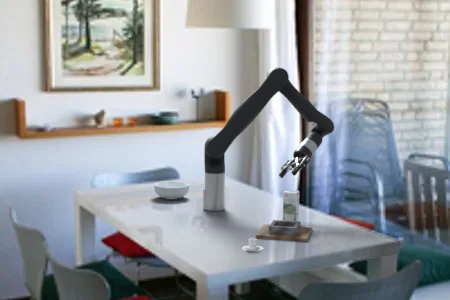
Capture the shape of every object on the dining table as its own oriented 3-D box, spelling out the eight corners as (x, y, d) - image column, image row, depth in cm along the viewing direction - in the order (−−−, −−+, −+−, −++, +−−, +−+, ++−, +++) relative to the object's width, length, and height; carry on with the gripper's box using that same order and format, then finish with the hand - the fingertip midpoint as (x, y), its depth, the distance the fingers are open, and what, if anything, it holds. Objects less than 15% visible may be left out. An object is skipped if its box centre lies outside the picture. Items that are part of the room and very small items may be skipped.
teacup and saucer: (252, 254, 263) (252, 243, 263) (236, 250, 269) (236, 239, 268) (267, 249, 270) (267, 238, 269) (251, 245, 275) (251, 234, 274)
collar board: (255, 238, 284) (256, 227, 283) (264, 227, 301) (264, 217, 301) (306, 241, 279) (307, 231, 279) (312, 230, 297) (312, 220, 296)
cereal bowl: (150, 201, 348) (150, 186, 347) (159, 194, 364) (159, 180, 363) (184, 202, 345) (184, 188, 344) (192, 195, 362) (192, 181, 361)
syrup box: (298, 223, 307) (299, 190, 305) (295, 227, 302) (296, 192, 300) (285, 222, 309) (286, 189, 307) (282, 225, 304) (283, 191, 302)
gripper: (290, 147, 327) (271, 171, 319) (311, 142, 316) (292, 166, 307) (299, 159, 329) (281, 183, 321) (321, 155, 318) (302, 179, 309)
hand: (286, 175), depth 314 cm, fingers open, 8 cm apart
